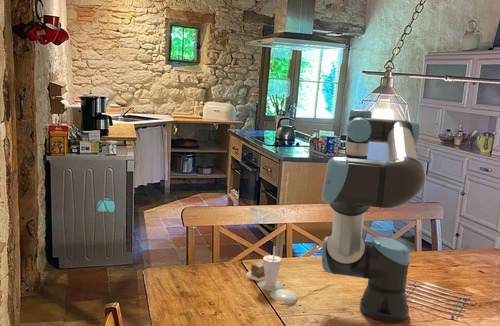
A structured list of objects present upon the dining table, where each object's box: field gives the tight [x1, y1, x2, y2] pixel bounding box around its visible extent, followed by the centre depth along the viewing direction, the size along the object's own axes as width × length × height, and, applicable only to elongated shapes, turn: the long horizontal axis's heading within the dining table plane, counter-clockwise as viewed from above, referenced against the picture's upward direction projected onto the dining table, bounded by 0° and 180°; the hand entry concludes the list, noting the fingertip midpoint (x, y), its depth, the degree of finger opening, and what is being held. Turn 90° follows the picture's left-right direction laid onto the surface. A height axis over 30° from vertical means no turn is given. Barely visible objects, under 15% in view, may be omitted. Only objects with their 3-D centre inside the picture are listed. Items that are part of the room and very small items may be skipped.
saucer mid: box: [257, 280, 284, 292], centre depth 161 cm, size 9×9×1 cm
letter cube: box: [250, 261, 265, 278], centre depth 167 cm, size 4×4×4 cm
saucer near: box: [269, 288, 298, 306], centre depth 153 cm, size 9×9×1 cm
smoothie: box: [262, 246, 282, 287], centre depth 159 cm, size 6×6×14 cm
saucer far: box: [245, 270, 265, 282], centre depth 168 cm, size 9×9×1 cm
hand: (350, 212), depth 165 cm, fingers open, 13 cm apart
